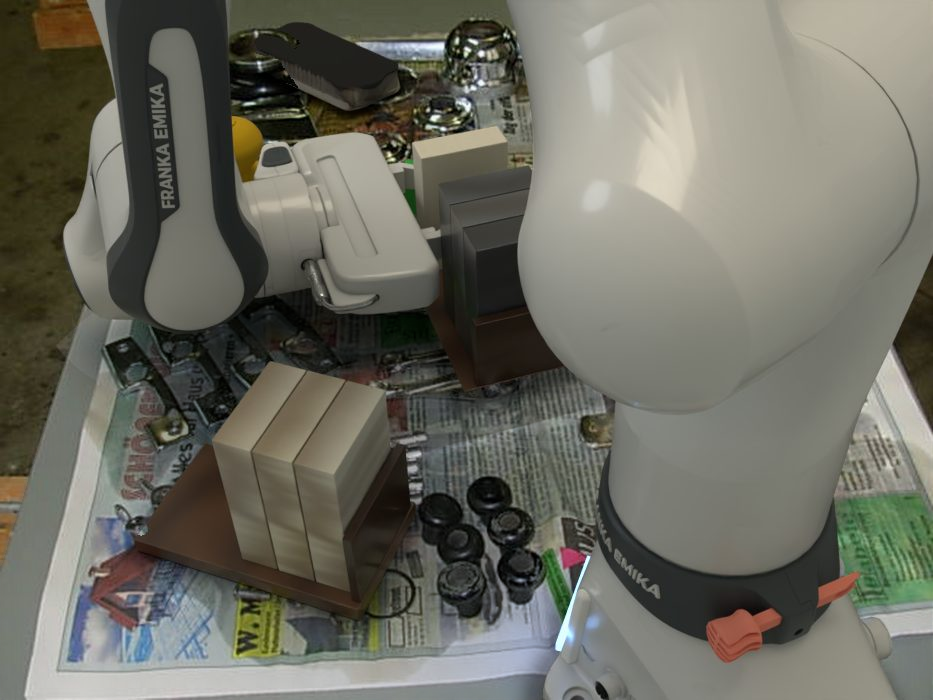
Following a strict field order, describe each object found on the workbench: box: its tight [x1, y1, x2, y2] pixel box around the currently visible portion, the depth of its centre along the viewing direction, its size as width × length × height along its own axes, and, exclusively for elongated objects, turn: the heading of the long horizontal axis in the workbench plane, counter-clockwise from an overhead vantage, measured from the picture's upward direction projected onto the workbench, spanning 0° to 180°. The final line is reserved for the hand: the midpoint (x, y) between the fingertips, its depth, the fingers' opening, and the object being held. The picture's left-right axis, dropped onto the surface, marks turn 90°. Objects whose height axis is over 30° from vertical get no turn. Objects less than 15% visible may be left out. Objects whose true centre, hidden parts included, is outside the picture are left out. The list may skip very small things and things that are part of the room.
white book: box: [411, 125, 509, 270], centre depth 89 cm, size 2×7×11 cm, turn 108°
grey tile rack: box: [424, 164, 567, 393], centre depth 85 cm, size 18×10×13 cm, turn 18°
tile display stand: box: [133, 360, 417, 622], centre depth 69 cm, size 16×9×12 cm, turn 69°
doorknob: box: [232, 115, 264, 183], centre depth 100 cm, size 8×8×8 cm
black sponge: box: [252, 21, 401, 112], centre depth 116 cm, size 16×8×4 cm, turn 48°
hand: (461, 200), depth 89 cm, fingers open, 6 cm apart
